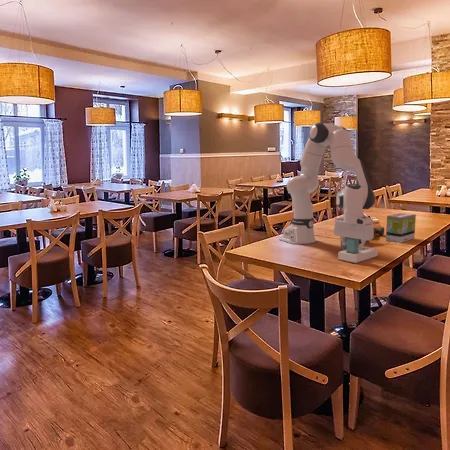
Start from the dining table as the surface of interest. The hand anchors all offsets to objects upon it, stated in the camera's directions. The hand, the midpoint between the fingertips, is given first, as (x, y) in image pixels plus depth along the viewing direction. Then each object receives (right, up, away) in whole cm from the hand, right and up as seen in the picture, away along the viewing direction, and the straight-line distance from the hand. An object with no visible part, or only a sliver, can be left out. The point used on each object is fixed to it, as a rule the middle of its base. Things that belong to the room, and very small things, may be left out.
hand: (352, 246), depth 200 cm
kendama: (+29, +3, +52) cm, 60 cm away
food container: (+15, 0, +37) cm, 40 cm away
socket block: (+4, -6, +4) cm, 8 cm away
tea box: (+40, +2, +40) cm, 56 cm away
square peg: (0, -6, +1) cm, 6 cm away
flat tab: (+1, -4, +15) cm, 16 cm away
